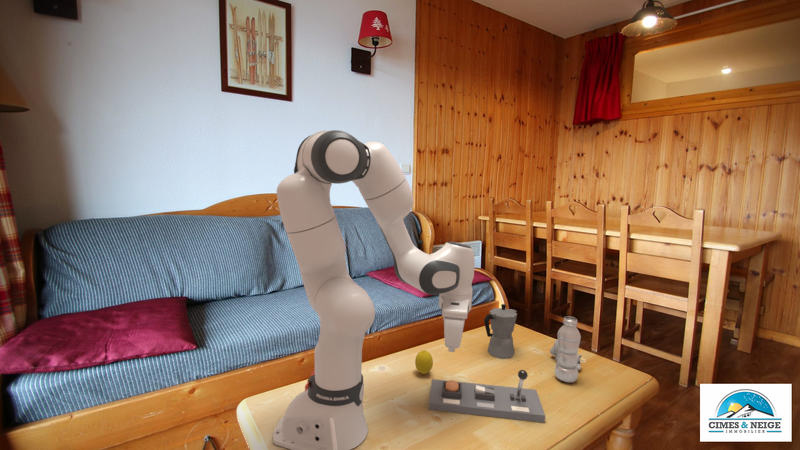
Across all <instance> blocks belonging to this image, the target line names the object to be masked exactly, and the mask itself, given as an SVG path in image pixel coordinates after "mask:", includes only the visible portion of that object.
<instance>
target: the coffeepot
mask: <svg viewBox="0 0 800 450" xmlns="http://www.w3.org/2000/svg"><path fill="white" fill-rule="evenodd" d="M500 306H501V307H498V308H497V307H496V308H492V309H491V310H489V314H486V316H485V318H484V319H483V324H484V327H485V331H486V335H487V337H488V338H490V339H489V343H488V347H487V352H488V353H489V355H490V356H492V357H493V358H498V359H502V360H503V359H505V360H507V359H510V358H512V357H514V355H515V346H514V339H513V333H514V331H515V326H516V320H517V316H518V313H517V312H518V311H517V310H515V309H514V308H513V309H512V308H510V309H509V308H508V309H507V308H506V307H507V305H506V304H504V303H503V304H501V305H500ZM490 327H491V328H490ZM491 330H492V332H491Z"/></svg>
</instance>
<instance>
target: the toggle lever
mask: <svg viewBox="0 0 800 450" xmlns="http://www.w3.org/2000/svg"><path fill="white" fill-rule="evenodd" d="M517 376H518V378H519V381H518V385H517V388H518V389H517V394H515V398H516V399H521V396H520V394H521V390H522V388H523V385H524V381H525V380H526V379H528V372H527V371H526V370H525V369H519V371H518V373H517Z"/></svg>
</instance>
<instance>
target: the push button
mask: <svg viewBox="0 0 800 450" xmlns="http://www.w3.org/2000/svg"><path fill="white" fill-rule="evenodd" d="M446 381H447V382H446V387H445V390H446V391H450V392H458V386H459V384H458V382H459V381H456V380H453V379H452V380H446Z"/></svg>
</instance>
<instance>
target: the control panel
mask: <svg viewBox="0 0 800 450" xmlns="http://www.w3.org/2000/svg"><path fill="white" fill-rule="evenodd" d="M447 381H448V380H446V379H445V380H444V379H435V378H434V379H433V378H432V379H431V385H430V391H429V397H428V398H429V399H428V410H429V411H438V412H447V413H454V414H455V413H457V414H465V415H472V416H473V415H475V416H482V417H483V416H484V417H491V418H499V419H509V420H517V421H526V422H532V423H533V422H536V423H544V424H545V423H546V414H545V411H544V409H543V408H544V407H543V405H542V403H541V400H540V396H539V394H538V391H537V389H533V388H523V387H522V390H521V394H520V396H521V399H516V398H515V394H517V389H518V387H514V386H503V385H495V384H494V385H493V384H484V383H476V382H475V383H472V382H464V381H463V382H462V381H457V382H458V384H459V386H458V392H450V391H446V390H445V387H446V382H447ZM476 385H478V386H481V387H485V388H489V389H493V390H494V394H485V393H476V392H475V387H476Z"/></svg>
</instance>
